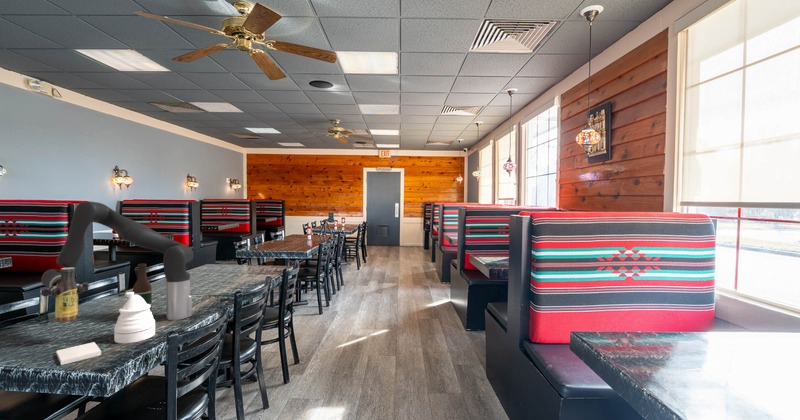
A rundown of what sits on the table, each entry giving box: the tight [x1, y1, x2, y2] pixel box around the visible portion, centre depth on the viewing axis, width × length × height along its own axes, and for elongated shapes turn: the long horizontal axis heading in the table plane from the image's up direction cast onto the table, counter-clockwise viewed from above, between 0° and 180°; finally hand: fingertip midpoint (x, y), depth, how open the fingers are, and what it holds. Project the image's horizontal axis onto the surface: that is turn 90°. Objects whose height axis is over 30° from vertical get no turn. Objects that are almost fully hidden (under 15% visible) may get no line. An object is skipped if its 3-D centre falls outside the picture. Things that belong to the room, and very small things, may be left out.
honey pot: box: [113, 291, 156, 344], centre depth 136 cm, size 13×13×18 cm
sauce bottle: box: [54, 267, 79, 323], centre depth 131 cm, size 7×6×20 cm
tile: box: [55, 341, 102, 366], centre depth 120 cm, size 10×2×12 cm
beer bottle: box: [132, 263, 153, 313], centre depth 163 cm, size 8×8×24 cm
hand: (68, 292), depth 129 cm, fingers closed on sauce bottle, 6 cm apart
